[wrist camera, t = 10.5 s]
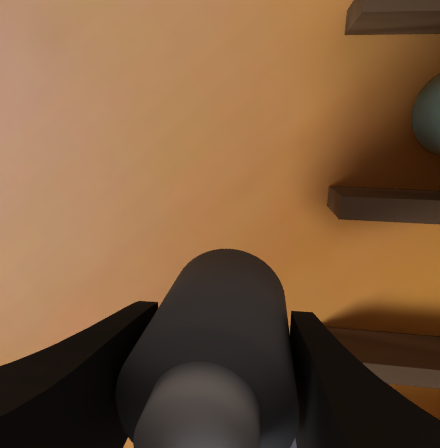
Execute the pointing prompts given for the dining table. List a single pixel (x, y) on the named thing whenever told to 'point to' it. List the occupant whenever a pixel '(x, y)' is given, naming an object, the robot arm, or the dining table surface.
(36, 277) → the dining table surface
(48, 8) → the dining table surface
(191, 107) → the dining table surface
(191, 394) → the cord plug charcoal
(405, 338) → the brown divided sorting rack
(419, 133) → the teal rounded piece
